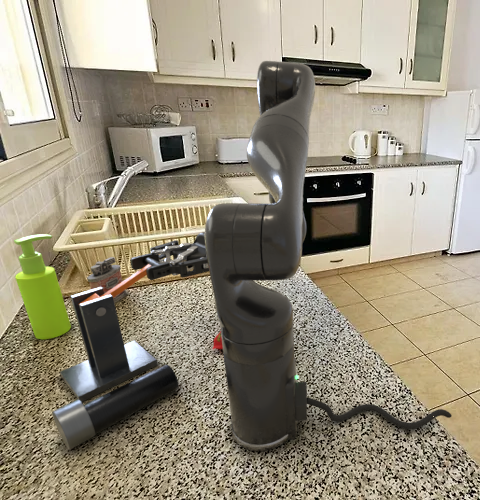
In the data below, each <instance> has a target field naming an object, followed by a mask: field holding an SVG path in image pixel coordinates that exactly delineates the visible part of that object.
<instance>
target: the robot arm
mask: <svg viewBox="0 0 480 500" xmlns="http://www.w3.org/2000/svg"><path fill="white" fill-rule="evenodd" d="M314 75H315V74H314V72H313V70H312V69H311V67H309V65H306V64H304V63H300V62H289V61H277V60H264V61H262V62H261V63H260V64H259V66H258V69H257V74H256V95H257V96H256V97H257V103H258V111H259V117H258V118H257V119H256V120H255V122H254V124H253V126H252V129H251V132H250V135H249V139H248V142H247V146H246V160H247V162H248V165H249V167H250V170H251V171H252V173H253V175H254V176H255V177H256V179H257V180H258V181H259V182H260V184H261V185H262V186H263V187H264V188H265V189H266V190H267V191H268V201H269V203H258V202H257V203H252V202H251V203H250V202H249V203H248V202H247V203H245V202H243V203H242V202H224V203H218V204H215V205H214V206H213V207H212V208H211V209H210V211H209V212H208V214H207V217H206V221H205V225H204V231H202V232H199V233H198V234H196V237H195V239H194V241H193V242H192V243H191V242H184V243H183V242H182V243H181V244H180V242H179V240H177V239H176V240H171V241H168V242H166V243H162V244H158V245H156V246H153V247H150V248H149V250H150V253H146V254H142V255H137V256H134V257H131V258H130V259H129V261H130V267H131V269H132V270H134V271H139V270H140V269H142V268H143V267H145V266H146V265H145V264H144V263H143V259H144V258H145V257H150V258H152V259H154V260H156V261H158V262H160V263H161V264H158V265H155V266H151V267H148V268H147V269H146V272H147V275H146V278H147V279H148V280H149V281H154V280H158V279H161V278H164V277H168V276H171V275H172V276H174V277H175V276H178V275H179V276H180V278H188V277H191V276H195V275H200V274H204V273H209V277H210V283H211V287H212V293H213V298H214V306H215V311H216V317H217V319H218V322H219V329H220V331H221V337H222V346H223V349H222V353H223V363H224V369H225V380H226V387H227V394H228V404H229V411H230V422H231V433H232V437H233V439H234V441H235V442H236V443H237V444H238V445H239V446H241V447H242V448H244V449H246V450H249V451H254V452H255V451H256V452H264V451H269V450H273V449H275V448H276V449H277V448H278V447H280V446H281V445H283V444H285V443H286V442H287V441H290V440H295V439H297V432H298V423H299V422H300V421H307V420H308V405H309V406H311V407H315V408H319V409H320V410H323V411H324V412H325V413H326V415H327V416H328V418H329V419H330V420H331V421H333V422H337V423H338V422H343V421H346V420H349V419H350V418H352V417H353V416H355V415H356V414H359V413H361V412H364V411H370V412H375V413H377V414H379V415H381V416H382V417H383V418H385V419H386V420H387V421H388V422H390V423H391V424H393V425H394V426H396V427H398V428H401V429H403V430H404V429H405V430H416V429H419V428H422V427H424V426H426V425H427V424H428V423H430V422H431V421H433V420H434V419H436V418H437V417H440V416H441V417H445V418H446V419H451V418H452V413H450V412H449V411H448V410H446V409H443V408H438V409H436V410H434V411H432V412H430V413H428V414H427V415H426V416H425V417H423V418H421V419H419V420H416V421H413V422H407V421H402V420H400V419H398V418H396V417H394V416H393V415H392V414H390V413H389V412H388V411H387V410H385V409H384V408H382V407H381V406H378V405H376V404H371V403H370V404H369V403H366V404H365V403H364V404H360V405H357V406H355V407H354V408H352V409H350V410H349V411H347V412H344V413H342V414H335V412H334V411H333V409H332V408H331V406H330V405H328V404H326V403H325V402H323V401H321V400H318V399H314V398H311V397H308V384H307V383H308V382H307V381H297V380H298V379H299V375H297V359H296V357H295V336H294V335H295V334H294V332H295V331H294V309H293V305H292V301H290V299H289V298H288V297H287V296H286V295H285V294H283V293H281V292H279V291H277V290H274V289H271V288H269V287H266V286H264V285H261V284H260V283H258V282H256V281H259V282H260V281H261V282H262V281H263V282H264V281H265V282H267V281H269V282H271V281H285V280H289V279H291V278H293V277H294V276H295V275H296V274H297V272H298V271H299V267H300V264H301V261H302V255H303V243H304V241H305V240H306V239H305V238H306V235H307V221H306V218H305V213H304V186H305V185H304V184H305V179H306V171H307V170H306V169H307V163H308V156H309V148H310V147H309V146H310V121H311V116H312V111H313V106H314V102H315V96H316V80H315V76H314ZM171 257H173V258H171ZM433 416H434V417H433Z"/></svg>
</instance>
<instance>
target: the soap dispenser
mask: <svg viewBox="0 0 480 500" xmlns="http://www.w3.org/2000/svg"><path fill="white" fill-rule="evenodd" d="M52 238H53V235H51V234H48V233H42V234H41V233H40V234H39V233H38V234H32V235H28V236H24V237H20V238H17V239H14V240H13V242H14V244H15V245H17V246H20V248H21V251H22V254H21V255H19V256H18V262H19V265H20V268H21V270H22V271H20V272H18V273H16V275H15V277H14V278H15V281H16V284H17V287H18V290H19V292H20V293H19V294H20V295H21V298H22V302H23V304H24V307H25V311H26V314H27V317H28V320H29V322H30V325H31V329H32V332H33V335H34V338H35V339H37V340H49V339H50V340H51V339H54V338H58V337H60V336H63V335H64V334H66V333H68V332H69V331H70V330H71V328H72V324H71V321H70V318H69V314H68V311H67V307H66V303H65V300H64V297H63V294H62V290H61V286H60V283H59V280H58V276H57V272H56V269H55V268H54V267H53V266H46V263H45V261H44V258H43V254H42V252H38V251H36V250H35V247H34V245H33V242H36V241H41V240H50V239H52Z"/></svg>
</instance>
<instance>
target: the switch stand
mask: <svg viewBox="0 0 480 500" xmlns="http://www.w3.org/2000/svg"><path fill="white" fill-rule="evenodd" d="M95 293H96V294H97V295H98V296H102V295H103V294H104V291H103V288H102V287H98V288H95V289H92V290H91V289H88V290H85V291H82V292H79V293H75V294H73V295H70V300H71V304H72V308H73V312H74V314H75V318H76V321H77V326H78V329H79V332H80V336H81V339H82V343H83V346H84V350H85V353H86V357H87V360H84V361H82V362H80V363H78V364H75V365H73V366H71V367H70V366H69V367H68V368H65V369H63V370H61V371H59V374H60V377H61V379H62V380H63V382H64V383H65V384H66V386H67V387H68V388H69V390H70V391H71V392H72V394H73V395H74V397H75V398H76V400H77V399H79V400H80V401H81V402H82V403H83V402H86V401H87V400H89V399H91V398H93V397H95V396H97V395H99V394H101V393H103V392H106V391H108V390H109V389H112V388H113V387H115V386H118V385H120V384H121V383H125V382H126V381H128V380H130V379H132V378H135V377H136V376H138V375H140V374H142V373H144V372H146V371H148V370H150V369H152V368H154V367H156V366H158V361H157V358H155V357H154V356H153V355H152V354H151V353H149V351H148V350H146V349H145V348H144V347H143V346H141V345H140V344H139V343H138V342H137V341H136V339H135V340H132V341H129V342H127V343H125V342H124V338H123V334H122V330H121V326H120V322H119V316H118V313H117V310H116V309H117V308H116V304H115V303H114V299H113V296H112V295H111V294H109V295H106V296H103V297H100V298H97V299H94V300H91V301H88V302H85V303H82V304H80V303H81V302H83V301H84V300H86V299H87V298H89V297H90V296H92V295H93V294H95Z"/></svg>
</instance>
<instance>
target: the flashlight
mask: <svg viewBox="0 0 480 500" xmlns="http://www.w3.org/2000/svg"><path fill="white" fill-rule="evenodd" d="M178 380H179V379H178V377H177V375H176V373H175V371H174V370H173V368H172V367H171V366H170V365H169V364H167V363H166V364H164V365H162V366H160V367H158V368H156V369H153V370H151V371H148V373H145V374H144V375H141V376H139V377H137V378H135V379H134V380H131V381H129V382H127V383H126V384H125V383H124V384H123V385H121V386H119V387H117V388H115V389H113V390H111V391H109V392H107V393H105V394H103V395H101V396H99V397H97V398H95V399H93V400H91V401H89V402H87V403H85V404H84V403H83V402H81V401H80V400H79V399H77V398H76V399H75V400H74V401H71V402H69V403H67V404H65V405H63V406H61V407H59V408H56V409H54V410H53V411H52V412H51V413H52V418H53V421H54V423H55V427H56V429H57V431H58V434H59V435H60V439H61V440H62V442H63V444H64V446H65V447H66V449H67V450H68V451H70V450H73V449H74V448H76V447H77V446H80V445H81V444H83V443H85V442H87V441H88V440H91V439H92V438H93V437H95V436H96V435H97V434H99V433H100V432H103V431H104V430H106V429H108V428H109V427H111V426H113V425H115V424H117V423H118V422H120V421H122V420H123V419H126V418H127V417H129V416H131V415H133V414H135V413H137V412H138V411H140V410H142V409H143V408H145V407H147V406H149V405H150V404H153V403H155V402H156V401H158V400H159V399H162V398H163V397H165V396H168V394H171V393H172V392H174V391H176V390H177V389H178V388H179V381H178Z"/></svg>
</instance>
